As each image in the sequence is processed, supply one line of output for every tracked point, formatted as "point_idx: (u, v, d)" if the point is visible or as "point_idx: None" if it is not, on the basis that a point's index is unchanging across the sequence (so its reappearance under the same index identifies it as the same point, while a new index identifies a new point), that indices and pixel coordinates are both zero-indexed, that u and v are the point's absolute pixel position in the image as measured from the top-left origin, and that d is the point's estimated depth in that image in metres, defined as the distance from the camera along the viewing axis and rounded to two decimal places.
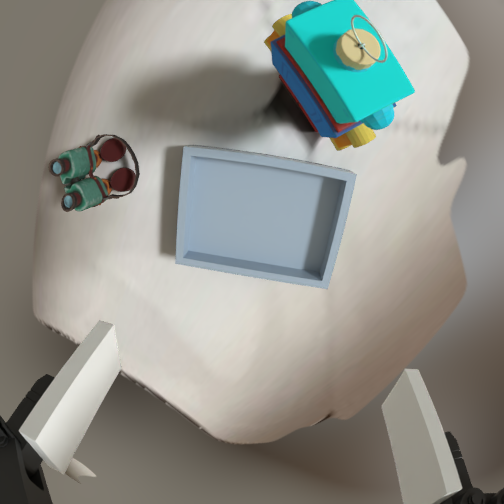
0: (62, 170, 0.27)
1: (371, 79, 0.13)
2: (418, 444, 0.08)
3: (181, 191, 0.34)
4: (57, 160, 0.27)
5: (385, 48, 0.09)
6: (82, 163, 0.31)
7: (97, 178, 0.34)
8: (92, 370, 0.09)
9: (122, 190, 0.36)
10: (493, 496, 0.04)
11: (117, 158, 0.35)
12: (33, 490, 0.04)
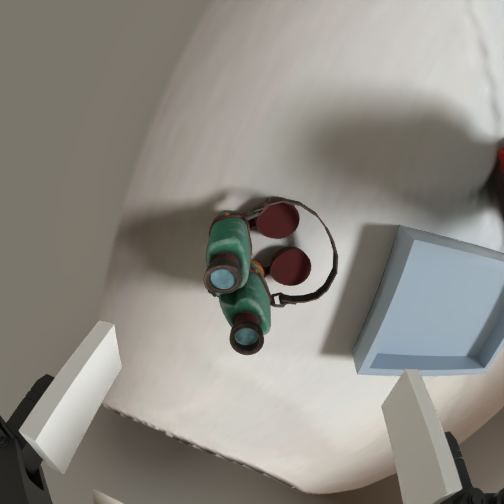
0: (238, 285, 0.17)
1: None
2: (418, 444, 0.08)
3: (395, 297, 0.23)
4: (230, 268, 0.16)
5: None
6: (249, 254, 0.20)
7: (256, 268, 0.24)
8: (92, 370, 0.09)
9: (291, 284, 0.26)
10: (493, 497, 0.04)
11: (286, 234, 0.24)
12: (33, 490, 0.04)
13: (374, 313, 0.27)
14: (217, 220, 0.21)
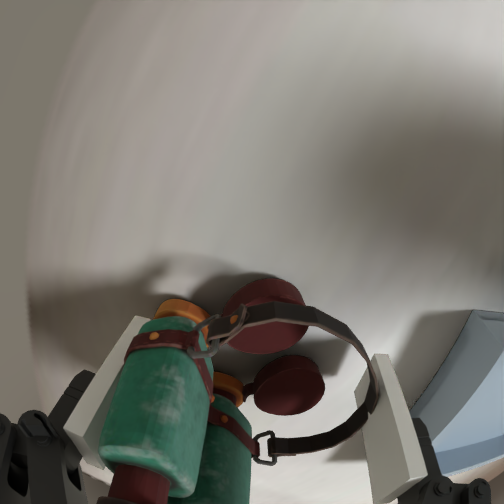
0: None
1: None
2: (384, 428, 0.09)
3: (452, 422, 0.11)
4: None
5: None
6: (200, 431, 0.08)
7: (225, 409, 0.11)
8: None
9: (289, 413, 0.14)
10: (464, 489, 0.05)
11: (282, 346, 0.12)
12: (72, 491, 0.05)
13: None
14: (133, 349, 0.09)
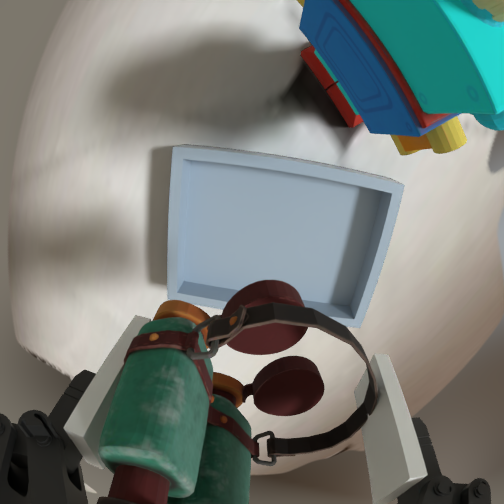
0: None
1: None
2: (384, 428, 0.09)
3: (171, 207, 0.25)
4: None
5: None
6: (200, 432, 0.08)
7: (225, 410, 0.12)
8: None
9: (288, 413, 0.14)
10: (464, 489, 0.05)
11: (281, 347, 0.12)
12: (72, 491, 0.05)
13: None
14: (133, 350, 0.09)
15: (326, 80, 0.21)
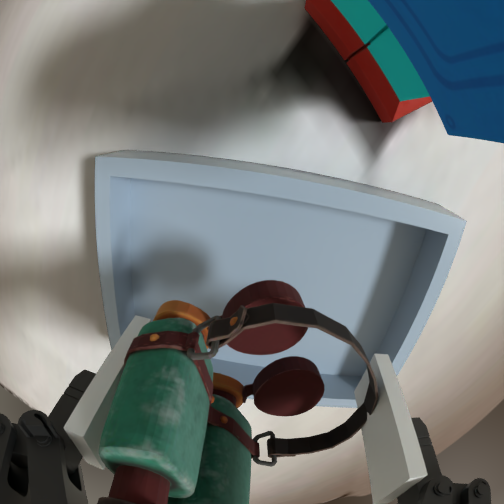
0: None
1: None
2: (384, 427, 0.09)
3: (100, 251, 0.15)
4: None
5: None
6: (200, 432, 0.08)
7: (225, 410, 0.12)
8: None
9: (289, 414, 0.14)
10: (464, 489, 0.05)
11: (282, 347, 0.12)
12: (72, 491, 0.05)
13: None
14: (134, 351, 0.09)
15: (349, 42, 0.11)
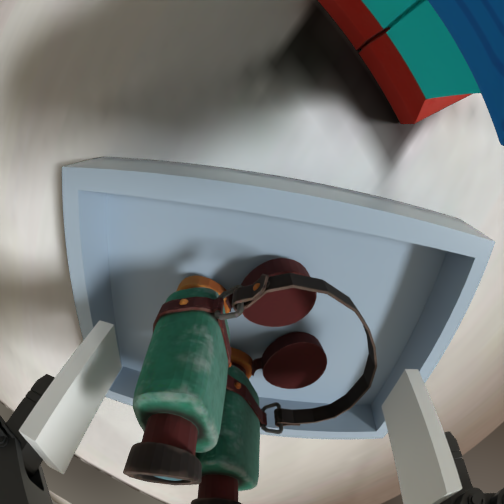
0: None
1: None
2: (418, 444, 0.08)
3: (73, 275, 0.13)
4: (172, 476, 0.05)
5: None
6: (223, 387, 0.10)
7: (238, 378, 0.13)
8: (92, 370, 0.09)
9: (293, 387, 0.15)
10: (493, 497, 0.04)
11: (291, 320, 0.14)
12: (33, 490, 0.04)
13: None
14: (164, 313, 0.11)
15: (363, 27, 0.09)
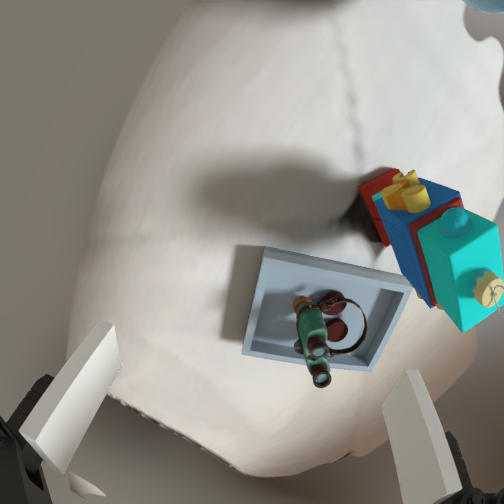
0: (325, 354, 0.30)
1: None
2: (418, 444, 0.08)
3: (256, 297, 0.36)
4: (326, 347, 0.29)
5: None
6: None
7: None
8: (92, 370, 0.09)
9: (334, 341, 0.39)
10: (493, 496, 0.04)
11: (337, 313, 0.38)
12: (33, 490, 0.04)
13: None
14: (305, 310, 0.34)
15: (375, 214, 0.33)
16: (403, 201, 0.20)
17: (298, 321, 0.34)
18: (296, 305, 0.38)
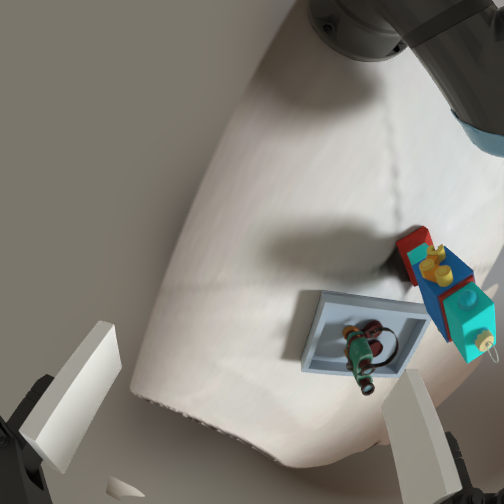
0: (372, 372, 0.38)
1: None
2: (418, 444, 0.08)
3: (317, 330, 0.45)
4: (373, 368, 0.37)
5: (496, 362, 0.20)
6: None
7: None
8: (92, 370, 0.09)
9: (373, 357, 0.47)
10: (494, 496, 0.04)
11: (375, 336, 0.46)
12: (33, 490, 0.04)
13: (309, 337, 0.48)
14: (355, 339, 0.42)
15: (408, 264, 0.40)
16: (435, 277, 0.28)
17: (349, 347, 0.43)
18: (346, 333, 0.46)
